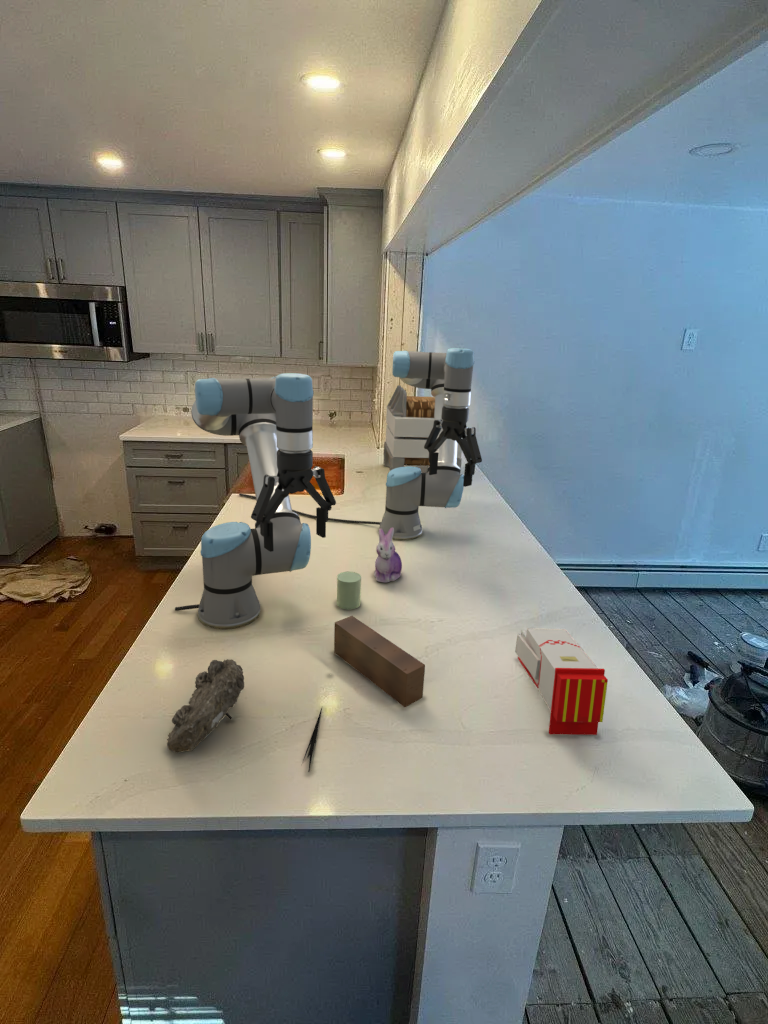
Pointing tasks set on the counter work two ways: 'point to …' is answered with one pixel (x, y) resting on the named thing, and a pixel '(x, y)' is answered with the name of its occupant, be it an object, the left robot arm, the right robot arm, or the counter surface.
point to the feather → (313, 740)
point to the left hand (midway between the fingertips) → (295, 542)
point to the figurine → (387, 558)
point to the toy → (564, 680)
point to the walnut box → (379, 660)
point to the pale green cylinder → (348, 590)
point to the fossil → (206, 705)
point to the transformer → (409, 430)
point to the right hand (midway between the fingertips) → (449, 479)
